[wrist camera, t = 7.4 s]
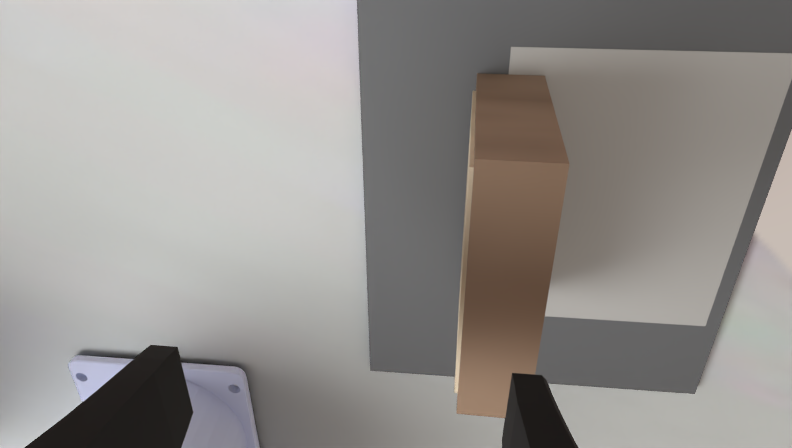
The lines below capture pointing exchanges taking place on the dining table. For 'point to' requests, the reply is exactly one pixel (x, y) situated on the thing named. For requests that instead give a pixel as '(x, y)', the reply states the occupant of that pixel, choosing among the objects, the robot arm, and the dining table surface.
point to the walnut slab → (507, 236)
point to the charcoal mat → (577, 171)
